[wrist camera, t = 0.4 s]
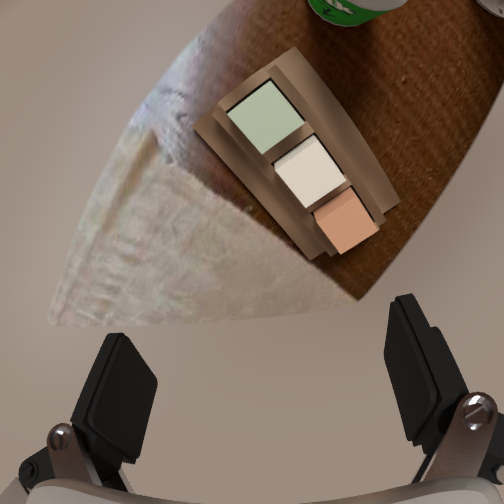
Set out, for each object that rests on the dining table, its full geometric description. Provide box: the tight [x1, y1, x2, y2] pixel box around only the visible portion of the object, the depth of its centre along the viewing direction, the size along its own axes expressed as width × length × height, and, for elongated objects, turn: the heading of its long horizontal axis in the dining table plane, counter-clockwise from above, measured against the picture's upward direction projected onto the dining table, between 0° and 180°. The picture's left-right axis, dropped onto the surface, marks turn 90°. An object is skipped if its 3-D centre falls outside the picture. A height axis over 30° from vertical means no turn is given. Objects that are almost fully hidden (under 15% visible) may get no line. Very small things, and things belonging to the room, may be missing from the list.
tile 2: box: [274, 135, 346, 208], centre depth 30 cm, size 5×5×3 cm
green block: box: [227, 81, 304, 154], centre depth 27 cm, size 5×5×3 cm
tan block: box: [313, 186, 378, 254], centre depth 32 cm, size 5×5×3 cm
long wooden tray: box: [192, 46, 401, 260], centre depth 32 cm, size 14×22×4 cm, turn 39°
